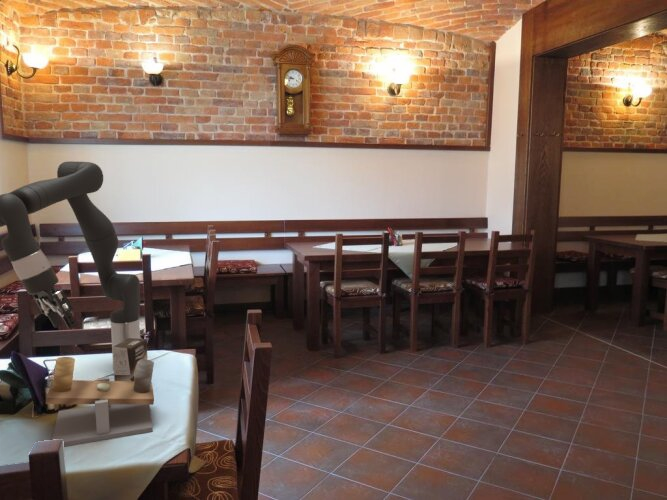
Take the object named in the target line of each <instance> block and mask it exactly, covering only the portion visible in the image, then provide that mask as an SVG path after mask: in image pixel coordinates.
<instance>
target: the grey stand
mask: <svg viewBox="0 0 667 500" xmlns="http://www.w3.org/2000/svg"><path fill="white" fill-rule="evenodd" d="M102 380H105V381H110V376H104V377H98V378H97V379H96V381H102ZM152 432H153V423H152V413H151V406H150V405H126V404H108V399H106V400H99V401H95V404H94V405H92V406H91V405H90V406H82V407H77V408H69V409H63V410H58V412H57V417H56V422H55V425H54V430H53V433H52V434H53V435H52V438H51V440H52V439H63V441H64V447H67V446H75V445H79V444H86V443H92V442H98V441H106V440H109V439H117V438H122V437H123V438H124V437H128V436H135V435H141V434H146V433H152Z"/></svg>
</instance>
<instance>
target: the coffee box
mask: <svg viewBox="0 0 667 500" xmlns="http://www.w3.org/2000/svg"><path fill="white" fill-rule="evenodd" d="M147 341H148V340H147V339H146V338H142V339H137V338H135V339H134V338H129V339H127V340H125V341H123V342H121V343H119V344H117V345H116V346H114V347H113V355H112V361H113V360H114V369H113V374H114V375H113V377H114V380H113V381H130V382H135V375H136V368H137V362H138V361H139V360H148V344H147V343H148V342H147Z"/></svg>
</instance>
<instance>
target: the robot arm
mask: <svg viewBox="0 0 667 500" xmlns="http://www.w3.org/2000/svg"><path fill="white" fill-rule="evenodd" d="M103 173H104V172H103V171H102V168H101V167H100V166H99V165H98V164H96V163H94V162H92V161H91V162H90V161H64V162H62V163H60V164H59V165H58V167H57V173H56V177H55V178H49V179H44V180H43V179H42V180H37V181H34V182H31V183H28V184H26V185H23V186H20V187H18V188H16V189H14V190H12V191H11V192H7V193H3V194H0V228H2V227H5V226H6V229H7V236H4V237H3V238H2V239H1V241H0V243H1V247H2V249H3V250H4V253H5V254H6V256H7V257H8V259H9V261H10V263H11V264H12V267H13V270H14V272H15V273H16V275H17V277H18V279H19V281H20V282H21V284H22V286H23V287H24V289H25V291H26V292H27V294H28V295H29V296H30V295H32V298H33V299H34V301H35V304H36V305H37V307H38V308H39V310H40V312H41V314H43V315H45V316H46V317H48V319H49V321H50V322H51V324H52V326H53V328H57V329H58V328H59V327H62V326H63V325H64V324H65V326H66V328H67V329H68V330H72V329H74V328H75V327H77V326H78V323H77V321H76V319H75V318H74V316H73V313H72V312H73V311H74V307H73V306H72V303H70V300H69V299H68V297H67V295H66V293H65V291H64V290H63V289H61V288H60V289H59V290H57V288H55V286H56V285H57V284H58V283H59V278H58V276H57V274H56V272H55V271H54V269H53V267H52V265H51V263H50V262H49V260H48V258H47V257H46V255H45V253H44V252H43V251H42V249H41V247H40V246H39V244H38V242H37V241H36V238H35V237H34V235H33V231H32V226H31V223H30V218H29V215H30V214H34V213H36V212H39V211H42V210H43V209H44V210H45V209H46V208H48V207H50V206H53V205H55V204H57V203H59V202H62V201H65V200H67V203H68V204H69V205H70V208H71V209H72V212H73V214H74V216H75V218H76V221H77V222H78V225H79V227H80V229H81V232H82V236H83V238H84V241H85V243H86V245H87V248H88V250H89V252H90V254H91V255H90V256H91V257H92V260H93V262H94V265H95V268H96V271H97V276H98V278H99V282H100V286H101V289H102V292H103V294H104V296H105V298H107V299H108V300H110V301H119V302H123V305H122V306H123V307H122V308H118V309H115V310H112V312H110V315H109V317H110V319H109V320H110V332H111V348H112V349H111V351H112V356H113V347H114V346H116V345H117V344H119V343H121V342H123V341H125V340H127V339H129V338H134V339H135V338H137V339H143V338H142V337H141V329H140V328H141V327H140V311H141V283H140V279H139V277H138V276H137V274H133V273H118V272H117V271H116V270H115V267H114V264H113V263H114V262H113V261H114V257H115V255H116V253H117V250H118V248H119V239H118V235H117V232H116V230H115V227H114V225H113V223H112V221H111V220H110V219H109V217H107V215H106V214H105V213H104V212H103V211H101V210H100V209H99V207H97V206H96V205H95V204H94V203H93V202H92V200H91V199H90V197H89V196H88V194H92V193H96V192H98V191H99V190H100V189H101V188H102V186H103V184H104V174H103ZM112 369H113V370H114V360H113V359H112Z"/></svg>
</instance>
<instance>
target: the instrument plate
mask: <svg viewBox="0 0 667 500" xmlns="http://www.w3.org/2000/svg"><path fill="white" fill-rule="evenodd" d="M75 363H76V359H75V358H74V357H70V356H60V357H56V359H55V369H54V377H53V379H51V382H50V385H49V389H48V391H47V394H46V398H45V405H95V401H99V400H106V399H108V404H126V405H154V402H155V395H154V390H153V382H152V378H153V373H154V365H155V362H154V361H152V360H150V359H147V360H139V361H138V362H137V368H136V375H135V382H130V381H114V380H109V381H105V380H102V381H97V380H86V379H85V380H83V379H82V380H80V379H78V380H76V379H75V380H74V379H73V378H74V369H75Z"/></svg>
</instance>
